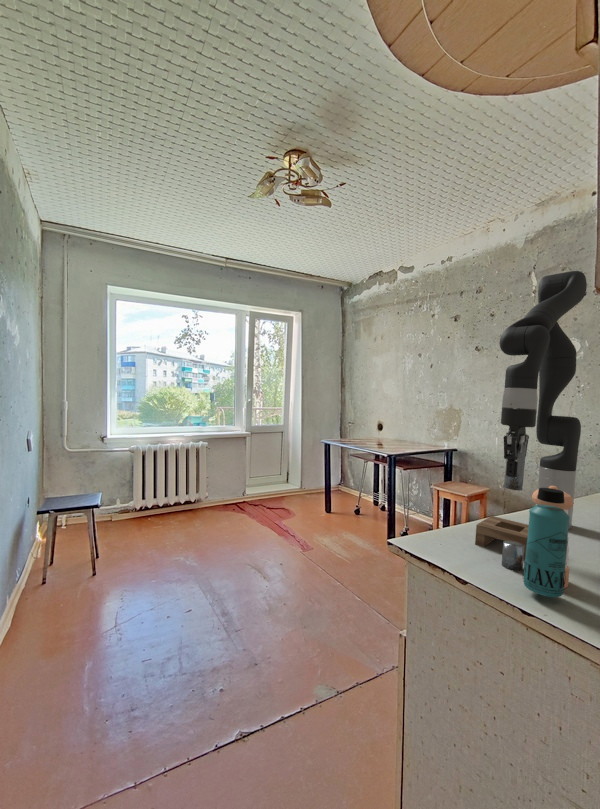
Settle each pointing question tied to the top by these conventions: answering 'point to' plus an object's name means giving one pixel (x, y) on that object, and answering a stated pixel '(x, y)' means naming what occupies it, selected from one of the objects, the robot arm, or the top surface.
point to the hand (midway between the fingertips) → (513, 475)
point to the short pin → (513, 555)
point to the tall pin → (517, 481)
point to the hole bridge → (501, 531)
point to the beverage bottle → (547, 545)
